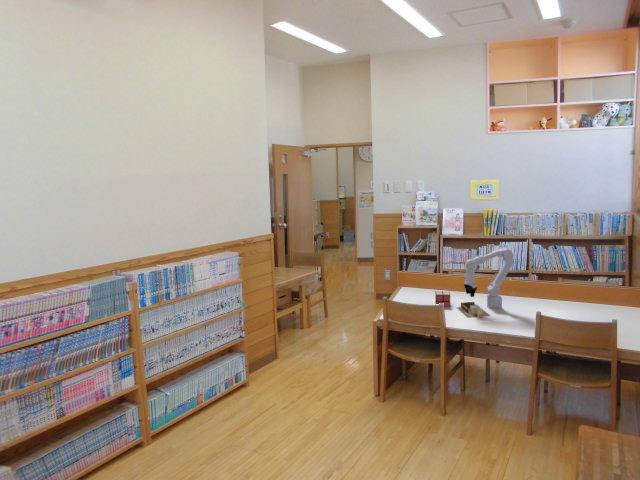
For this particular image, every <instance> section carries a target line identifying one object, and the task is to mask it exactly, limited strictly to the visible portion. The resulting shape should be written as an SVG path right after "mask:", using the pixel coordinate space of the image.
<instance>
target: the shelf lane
mask: <svg viewBox="0 0 640 480" xmlns="http://www.w3.org/2000/svg"><path fill="white" fill-rule="evenodd" d="M470 305H477V304H476V303H475V301H465V302H464V301H463V302H460V306H459V307H458V306H456V307H455V309H457V310H458V311H459V312H460V313H462V314H463V315H464V316H465V317H466V318H479V317H478V314H476V315H473V314H471V313H470ZM481 309H482V317H481V318H483V317H491V315H490V314H489V313H488V312H486V311H485V310H484V309H483V308H481Z"/></svg>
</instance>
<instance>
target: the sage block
mask: <svg viewBox="0 0 640 480" xmlns="http://www.w3.org/2000/svg"><path fill="white" fill-rule="evenodd" d="M482 309H483V308H482V307H480V306H479V305H478V304H476V305H470V313H471V314H473V315H476V314H478V317H477V318H483V317H482Z"/></svg>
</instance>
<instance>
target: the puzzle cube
mask: <svg viewBox="0 0 640 480" xmlns="http://www.w3.org/2000/svg"><path fill="white" fill-rule="evenodd" d="M434 298H435V302H434V303H435V305H436V304H439V303H444V306H445V307H444V308H450V307H451V293H450V291H449V290H435V297H434Z"/></svg>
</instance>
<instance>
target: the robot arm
mask: <svg viewBox="0 0 640 480" xmlns="http://www.w3.org/2000/svg"><path fill="white" fill-rule="evenodd" d="M496 257H500V258H503V260H504V263H503V265H502V266H501V268H500V270H499V271H498V273H497V274H496V277H495V278H494V280H493V281H491V282H490V284H488V285H487V286H486V291H487V295H486V298H487V299H486V301H487V302H486V306H487V308H489V309H500V310H501V309H503V298H502V295H501V294H499V292H500V289H501V285H502V284H503V282H504V280H505V278H506V277H507V275H508V273H509V271H510V270H511V268H512V266H513V265H514V253H513V251H512V250H510V249H509V247H506V246H503V247H501V248H497V249H496V250H494V251H492V252H490V253H487V254H485V255H482V254H481V255H480V254H479V255H477V256H476V257H474V258H471V259H467V260H466V261H465V263H464V265H465V280H464V283H463V286H464V288H465V293H466V294H467V295H469V296H470V297H471V298H474V297H475V294H476V291H477V290H478V287H477V286H476V282H475V267H478V266H480V265H482V264H484V263H485V264H486V261H488V260H491V259H493V258H496Z"/></svg>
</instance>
